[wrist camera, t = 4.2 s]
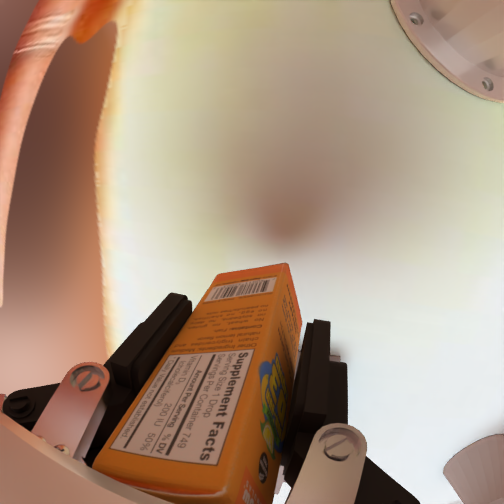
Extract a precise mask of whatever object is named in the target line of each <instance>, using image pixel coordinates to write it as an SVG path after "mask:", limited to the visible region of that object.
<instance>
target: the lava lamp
mask: <svg viewBox="0 0 504 504" xmlns="http://www.w3.org/2000/svg"><path fill="white" fill-rule="evenodd" d="M443 474H444V475H445V477H446V478H447V480H448V481H449V483H450V484H451V486H452V487H453V488H454V490H455V491H456V493H457V494H458V496H459V497H460V499H461V500H462V502H463V503H464V504H504V435H493V436H489V437H486V438H483V439H481V440H479V441H476V442H474V443H473V444H471V445H469V446H467V447H466V448H464V449H463V450H461V451H460V452H459V453H457V454H456V455H455V456H453V457H452V458H451V459H450V460H449V461H448V462H447V464H446V465H445V467H444V470H443Z"/></svg>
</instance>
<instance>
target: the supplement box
mask: <svg viewBox="0 0 504 504" xmlns="http://www.w3.org/2000/svg"><path fill="white" fill-rule="evenodd" d="M301 327H302V319H301V314H300V309H299V305H298V300H297V296H296V292H295V288H294V284H293V280H292V277H291V273H290V269H289V265H288V264H287V263H280V264H275V265H269V266H264V267H259V268H253V269H246V270H240V271H233V272H227V273H221V274H218V275H217V276H216V277H215V279H214V281H213V282H212V284H211V285H210V287H209V289H208V290H207V291H206V293H205V294H204V296H203V297H202V299H201V300H200V302H199V303H198V305H197V306H196V308H195V309H194V311H193V312H192V314H191V315H190V317H189V318H188V320H187V321H186V323H185V324H184V326H183V327H182V329H181V330H180V332H179V333H178V335H177V336H176V338H175V339H174V341H173V342H172V343H171V345H170V347H169V348H168V350H167V351H166V353H165V354H164V356H163V357H162V359H161V360H160V362H159V363H158V365H157V366H156V368H155V369H154V371H153V373H152V374H151V376H150V377H149V379H148V380H147V382H146V383H145V385H144V386H143V388H142V389H141V391H140V392H139V394H138V395H137V397H136V398H135V400H134V402H133V403H132V404H131V406H130V407H129V409H128V410H127V412H126V413H125V415H124V416H123V418H122V419H121V421H120V422H119V424H118V425H117V427H116V428H115V430H114V431H113V433H112V434H111V436H110V437H109V439H108V440H107V442H106V444H105V445H104V447H103V448H102V450H101V451H100V452H99V454H98V455H97V457H96V458H95V461H94V463H93V465H92V469H94V470H96V471H98V472H100V473H102V474H104V475H106V476H108V477H110V478H112V479H114V480H116V481H118V482H121V483H123V484H125V485H127V486H130V487H132V488H134V489H137V490H139V491H142V492H144V493H147V494H149V495H152V496H154V497H157V498H160V499H162V500H165V501H168V502H171V503H174V504H272V502H273V498H274V493H275V488H276V483H277V477H278V473H279V468H280V462H281V454H282V449H283V444H284V439H285V433H286V428H287V422H288V417H289V411H290V404H291V398H292V390H293V384H294V376H295V368H296V361H297V354H298V346H299V339H300V332H301Z"/></svg>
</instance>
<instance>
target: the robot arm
mask: <svg viewBox="0 0 504 504" xmlns="http://www.w3.org/2000/svg"><path fill="white" fill-rule="evenodd" d="M390 1H391V5H392V7H393V9H394V12H395V14H396V16H397V18H398V21H399V23H400V24H401V26H402V27H403V29H404V31H405V32H406V34H407V35H408V37H409V39H410V40H411V41H412V42H413V44H414V45H415V46H416V47H417V49H418V50H419V51H420V52H421V54H422V55H423V56H424V57H425V58H426V59H427V60H428V61H429V62H430V63H431V64H432V65H433V66H434V67H435V68H436V69H437V70H438V71H439V72H441V73H442V74H443V75H444V76H446V77H447V78H448V79H449V80H450V81H452V82H453V83H454V84H456V85H458V86H459V87H461V88H463V89H464V90H466V91H467V92H469V93H471V94H474V95H476V96H478V97H481V98H483V99H486V100H490V101H494V102H499V103H504V0H390ZM411 20H412V21H414V22H415V23H416V24H414V23H412V21H411ZM483 85H484V87H483ZM191 314H192V302H191V301H190V300H188V298H187V296H186V295H181V294H177V293H170V294H169V295H168V296H167V297H166V298H165V299H164V300H163V301H162V302H161V304H160V305H159V306H158V307H157V308H156V309H155V310H154V311H153V313H152V314H151V315H150V316H149V317H148V318H147V319H146V320H145V322H142V323H140V324H139V325H138V326H137V327H136V329H135V330H134V331H133V332H132V333H131V334H130V335H129V336H128V338H127V339H126V340H125V341H124V342H123V343H122V344H121V346H120V347H119V348H118V349H117V350H116V351H115V352H114V354H113V355H112V356H111V357H110V358H109V359H108V360H107V362H106V363H105V364H104V365H103V366H102V365H101V364H98V363H94V362H84V363H80V364H78V365H76V366H74V367H72V368H71V369H70V370H69V371H68V372H67V374H66V375H65V377H64V379H63V380H62V382H61V383H57V384H51V385H46V386H41V387H34V388H28V389H22V390H18V391H15V392H13V393H11V394H10V395H9V396H8V397H7V396H6V395H5V394H0V504H174V503H171V502H168V501H165V500H162V499H160V498H157V497H154V496H152V495H149V494H147V493H144V492H142V491H139V490H137V489H134V488H132V487H130V486H127V485H125V484H123V483H121V482H118V481H116V480H114V479H112V478H110V477H108V476H106V475H104V474H102V473H100V472H98V471H96V470H94V469H92V465H93V463H94V461H95V458H96V457H97V455H98V454H99V452H100V451H101V450H102V448H103V447H104V445H105V444H106V442H107V440H108V439H109V437H110V436H111V434H112V433H113V431H114V430H115V428H116V427H117V425H118V424H119V422H120V421H121V419H122V418H123V416H124V415H125V413H126V412H127V410H128V409H129V407H130V406H131V404H132V403H133V402H134V400H135V398H136V397H137V395H138V394H139V392H140V391H141V389H142V388H143V386H144V385H145V383H146V382H147V380H148V379H149V377H150V376H151V374H152V373H153V371H154V369H155V368H156V366H157V365H158V363H159V362H160V360H161V359H162V357H163V356H164V354H165V353H166V351H167V350H168V348H169V347H170V345H171V343H172V342H173V341H174V339H175V338H176V336H177V335H178V333H179V332H180V330H181V329H182V327H183V326H184V324H185V323H186V321H187V320H188V318H189V317H190V315H191ZM366 452H367V442H366V439H365V437H364V436H363V434H362V433H361V432H360V431H359V430H357V429H356V428H355V427H353V426H350V425H348V381H347V364H346V363H343V362H336V361H330V322H329V321H323V320H316V319H314V322H313V323H308V322H307V326H306V330H305V335H304V340H303V344H302V349H301V353H300V358H299V362H298V367H297V371H296V375H295V380H294V384H293V390H292V398H291V404H290V411H289V417H288V422H287V428H286V433H285V439H284V444H283V449H282V454H281V462H280V466H284V470H283V474H282V475H284V480H285V481H286V482H287V483H288V485H289V486H290V487H291V490H290V492H289V495H288V497H287V499H286V501H285V504H420V502H419V501H418V500H417V499H416V498H415V497H414V496H413V495H412V494H411V493H409V492H408V491H407V490H406V489H404V488H403V487H402V486H401V485H400V484H398V483H397V482H396V481H395V480H394V479H392V478H391V477H390V476H389V475H388V474H386V473H385V472H384V471H383V470H382V469H381V468H379V467H378V466H377V465H376V464H375V463H374V462H372V461H371V460H370V459H369V458H368V457H367V456H366Z"/></svg>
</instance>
